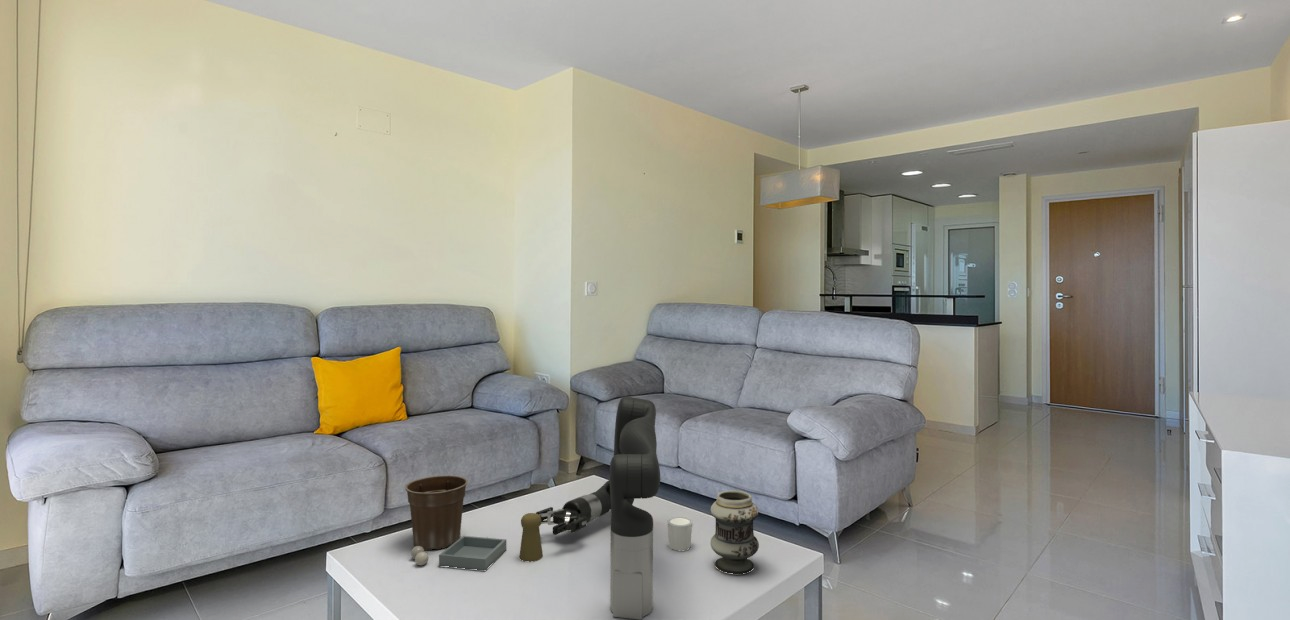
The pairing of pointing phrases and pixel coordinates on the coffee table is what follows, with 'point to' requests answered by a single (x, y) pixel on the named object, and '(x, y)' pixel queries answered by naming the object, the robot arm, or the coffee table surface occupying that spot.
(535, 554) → the cork
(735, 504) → the apothecary jar
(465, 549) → the slate dish
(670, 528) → the white cup
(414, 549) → the pebble
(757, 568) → the coffee table surface
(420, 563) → the pebble
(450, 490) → the plant pot
